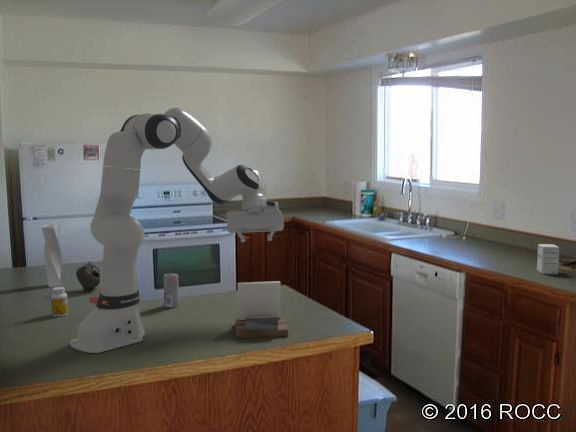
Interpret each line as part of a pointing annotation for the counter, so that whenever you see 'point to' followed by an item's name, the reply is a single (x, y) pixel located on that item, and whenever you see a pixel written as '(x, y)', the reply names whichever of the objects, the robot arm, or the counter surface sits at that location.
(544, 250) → the supplement box
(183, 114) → the robot arm
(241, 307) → the white flat panel
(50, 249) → the skyscraper
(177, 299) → the energy drink
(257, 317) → the bar
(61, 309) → the supplement bottle
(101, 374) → the counter surface
